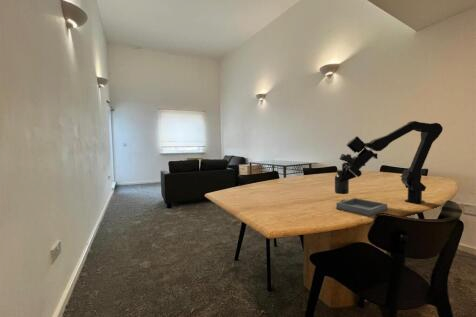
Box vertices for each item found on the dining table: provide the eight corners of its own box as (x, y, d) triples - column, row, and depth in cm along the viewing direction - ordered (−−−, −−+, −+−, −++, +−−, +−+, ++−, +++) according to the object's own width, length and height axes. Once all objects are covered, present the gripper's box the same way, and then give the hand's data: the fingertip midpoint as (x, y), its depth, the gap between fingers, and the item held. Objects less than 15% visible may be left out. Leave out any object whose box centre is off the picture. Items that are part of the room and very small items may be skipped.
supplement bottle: (350, 194, 124) (350, 171, 124) (336, 194, 126) (335, 171, 125) (347, 191, 131) (347, 169, 130) (333, 191, 132) (333, 169, 132)
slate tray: (354, 203, 120) (354, 198, 120) (387, 210, 108) (387, 204, 108) (336, 209, 112) (336, 202, 112) (369, 216, 99) (369, 210, 99)
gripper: (345, 147, 135) (324, 167, 138) (354, 148, 117) (330, 172, 120) (361, 161, 134) (339, 181, 137) (372, 165, 116) (347, 188, 119)
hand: (338, 180), depth 128 cm, fingers closed on supplement bottle, 7 cm apart
